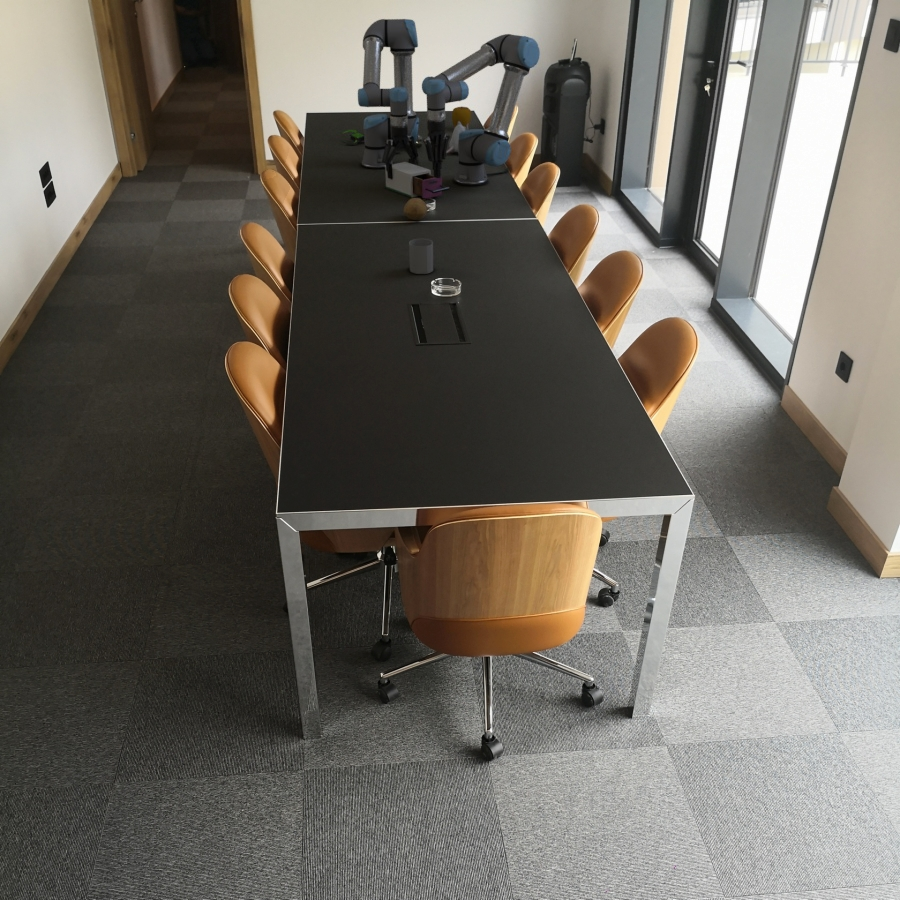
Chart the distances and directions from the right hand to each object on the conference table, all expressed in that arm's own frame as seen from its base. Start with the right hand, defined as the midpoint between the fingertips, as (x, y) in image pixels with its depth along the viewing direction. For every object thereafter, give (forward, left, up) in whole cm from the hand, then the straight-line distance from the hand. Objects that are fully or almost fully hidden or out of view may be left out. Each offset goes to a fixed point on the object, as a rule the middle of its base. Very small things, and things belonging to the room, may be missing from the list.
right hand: (437, 177), depth 372 cm
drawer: (+2, -8, -9) cm, 12 cm away
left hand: (+6, -25, -5) cm, 26 cm away
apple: (-71, -114, -10) cm, 135 cm away
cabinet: (+5, -20, -10) cm, 23 cm away
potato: (+19, +19, -10) cm, 29 cm away
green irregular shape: (-13, -111, -10) cm, 112 cm away
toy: (-42, -67, -10) cm, 80 cm away
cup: (+41, +72, -10) cm, 84 cm away
